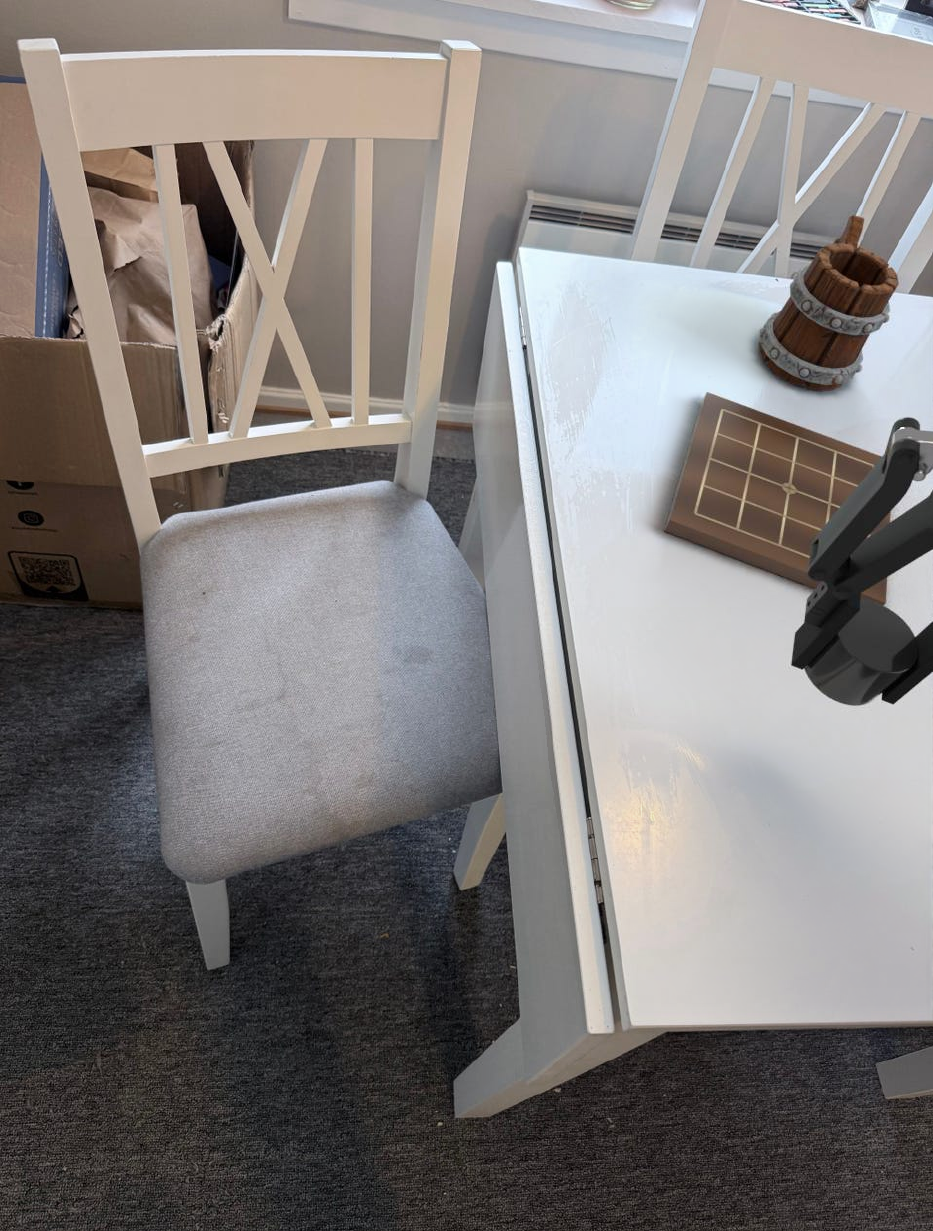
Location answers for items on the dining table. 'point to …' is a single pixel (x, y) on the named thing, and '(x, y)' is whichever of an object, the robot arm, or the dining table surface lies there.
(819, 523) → the board
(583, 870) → the dining table surface
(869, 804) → the dining table surface
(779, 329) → the mug
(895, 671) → the dark grey puck
